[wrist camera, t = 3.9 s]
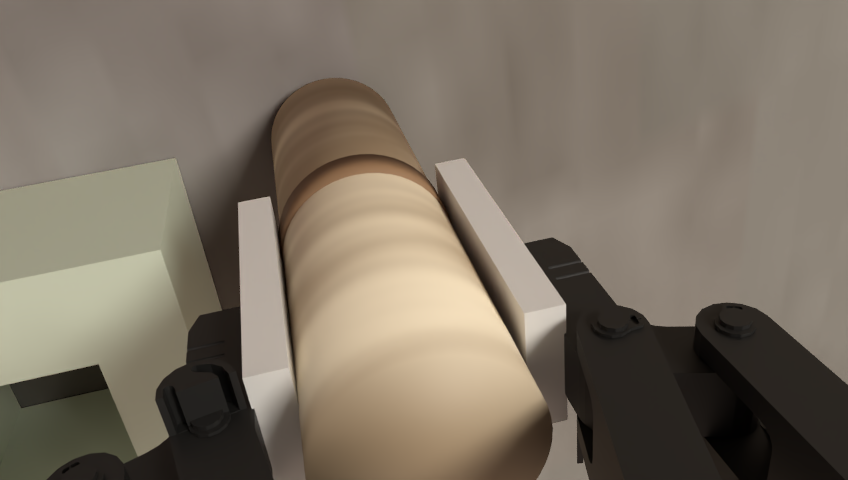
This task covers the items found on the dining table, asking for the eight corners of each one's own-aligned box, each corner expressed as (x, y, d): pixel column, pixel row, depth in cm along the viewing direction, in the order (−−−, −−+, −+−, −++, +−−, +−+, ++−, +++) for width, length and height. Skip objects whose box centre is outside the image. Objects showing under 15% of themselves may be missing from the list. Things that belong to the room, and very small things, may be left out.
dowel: (256, 89, 22) (276, 389, 11) (389, 65, 23) (551, 325, 11) (284, 208, 25) (327, 573, 13) (405, 184, 25) (558, 512, 13)
